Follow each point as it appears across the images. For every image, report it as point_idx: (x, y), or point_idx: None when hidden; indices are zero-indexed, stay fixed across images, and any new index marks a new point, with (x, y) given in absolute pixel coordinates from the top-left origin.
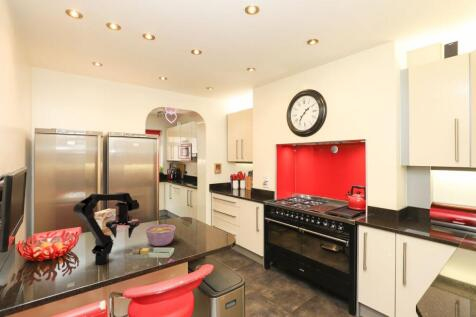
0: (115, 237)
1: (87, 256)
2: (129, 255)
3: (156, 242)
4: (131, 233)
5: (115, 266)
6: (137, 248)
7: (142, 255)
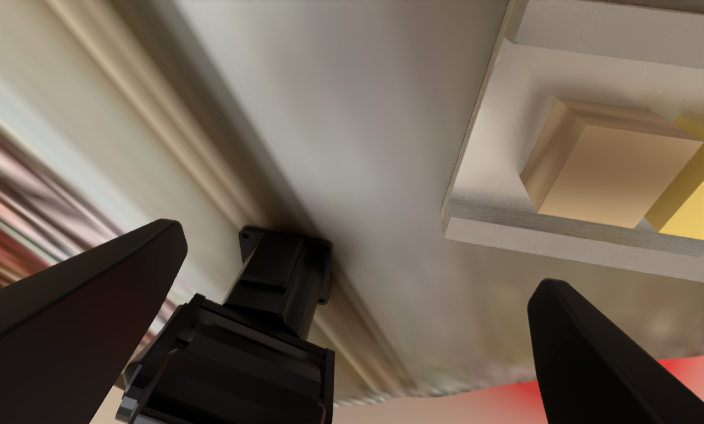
0: (184, 251)
1: (33, 96)
2: (500, 246)
3: None
4: (676, 402)
5: (405, 303)
6: (625, 155)
7: (653, 273)
